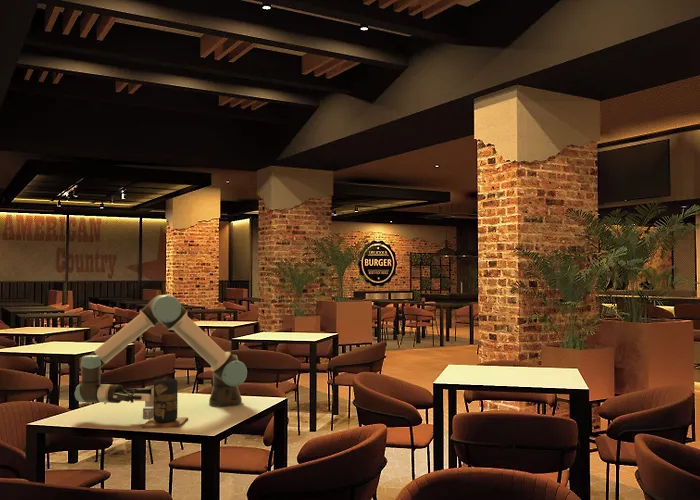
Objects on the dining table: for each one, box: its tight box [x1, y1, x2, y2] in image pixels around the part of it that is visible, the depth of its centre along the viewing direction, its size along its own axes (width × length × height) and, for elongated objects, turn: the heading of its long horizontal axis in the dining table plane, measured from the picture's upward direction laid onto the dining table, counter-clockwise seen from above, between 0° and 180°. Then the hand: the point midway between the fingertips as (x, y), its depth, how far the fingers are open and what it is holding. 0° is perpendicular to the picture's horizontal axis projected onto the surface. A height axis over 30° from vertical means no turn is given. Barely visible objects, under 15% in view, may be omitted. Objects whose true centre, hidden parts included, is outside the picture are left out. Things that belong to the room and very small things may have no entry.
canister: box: [153, 376, 179, 422], centre depth 273 cm, size 10×10×18 cm
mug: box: [144, 385, 154, 407], centre depth 302 cm, size 12×8×11 cm
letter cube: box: [142, 406, 154, 419], centre depth 288 cm, size 4×4×4 cm
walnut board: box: [141, 416, 189, 429], centre depth 273 cm, size 15×15×1 cm
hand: (158, 394), depth 274 cm, fingers open, 13 cm apart
